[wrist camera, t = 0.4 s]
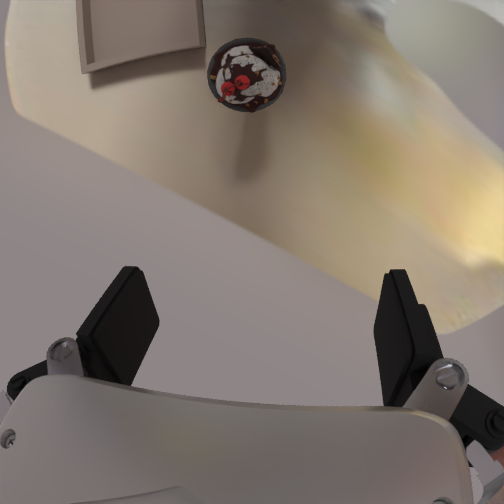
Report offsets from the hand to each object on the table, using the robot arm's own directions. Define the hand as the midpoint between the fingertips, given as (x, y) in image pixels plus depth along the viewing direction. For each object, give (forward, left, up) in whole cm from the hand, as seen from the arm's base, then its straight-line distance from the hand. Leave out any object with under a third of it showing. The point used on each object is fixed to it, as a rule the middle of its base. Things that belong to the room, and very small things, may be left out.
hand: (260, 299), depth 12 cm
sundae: (-8, -3, -29) cm, 30 cm away
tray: (-22, -17, -29) cm, 40 cm away
